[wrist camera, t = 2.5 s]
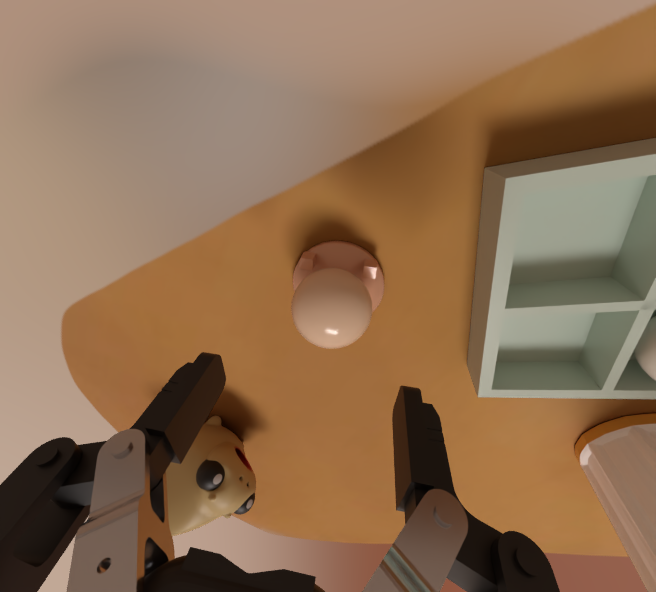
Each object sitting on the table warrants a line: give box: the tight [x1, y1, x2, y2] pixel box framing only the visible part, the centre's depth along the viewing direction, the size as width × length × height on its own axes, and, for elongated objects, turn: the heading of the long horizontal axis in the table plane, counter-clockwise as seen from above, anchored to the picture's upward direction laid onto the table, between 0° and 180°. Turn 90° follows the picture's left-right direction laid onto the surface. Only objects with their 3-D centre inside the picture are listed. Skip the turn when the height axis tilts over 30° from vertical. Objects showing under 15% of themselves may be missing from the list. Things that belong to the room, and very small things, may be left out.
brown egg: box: [291, 268, 372, 349], centre depth 17 cm, size 5×5×5 cm
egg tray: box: [467, 138, 656, 399], centre depth 15 cm, size 15×15×3 cm
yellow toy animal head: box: [166, 416, 256, 536], centre depth 29 cm, size 10×12×11 cm
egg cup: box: [293, 241, 384, 312], centre depth 19 cm, size 6×6×2 cm
